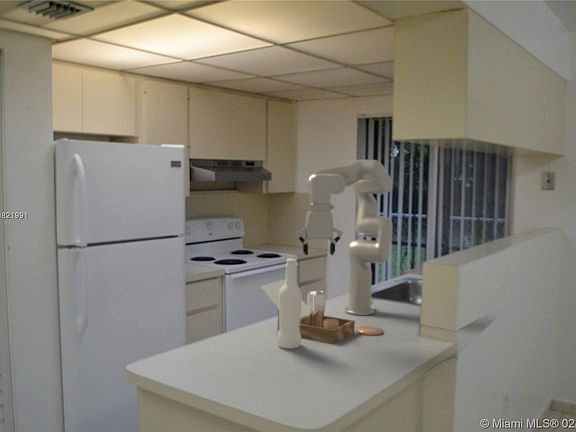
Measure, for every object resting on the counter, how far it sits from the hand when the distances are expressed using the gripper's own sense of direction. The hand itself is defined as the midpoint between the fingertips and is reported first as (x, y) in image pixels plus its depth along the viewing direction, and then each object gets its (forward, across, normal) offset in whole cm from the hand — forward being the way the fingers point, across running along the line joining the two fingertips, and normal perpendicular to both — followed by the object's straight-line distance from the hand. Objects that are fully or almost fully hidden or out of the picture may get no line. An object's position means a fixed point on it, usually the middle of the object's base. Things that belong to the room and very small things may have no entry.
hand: (318, 254), depth 202 cm
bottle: (+29, +13, +15) cm, 36 cm away
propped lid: (+29, +10, -9) cm, 32 cm away
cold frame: (+29, -2, +2) cm, 29 cm away
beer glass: (+30, +1, 0) cm, 30 cm away
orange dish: (+30, -20, 0) cm, 36 cm away
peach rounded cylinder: (+29, -4, +6) cm, 30 cm away
